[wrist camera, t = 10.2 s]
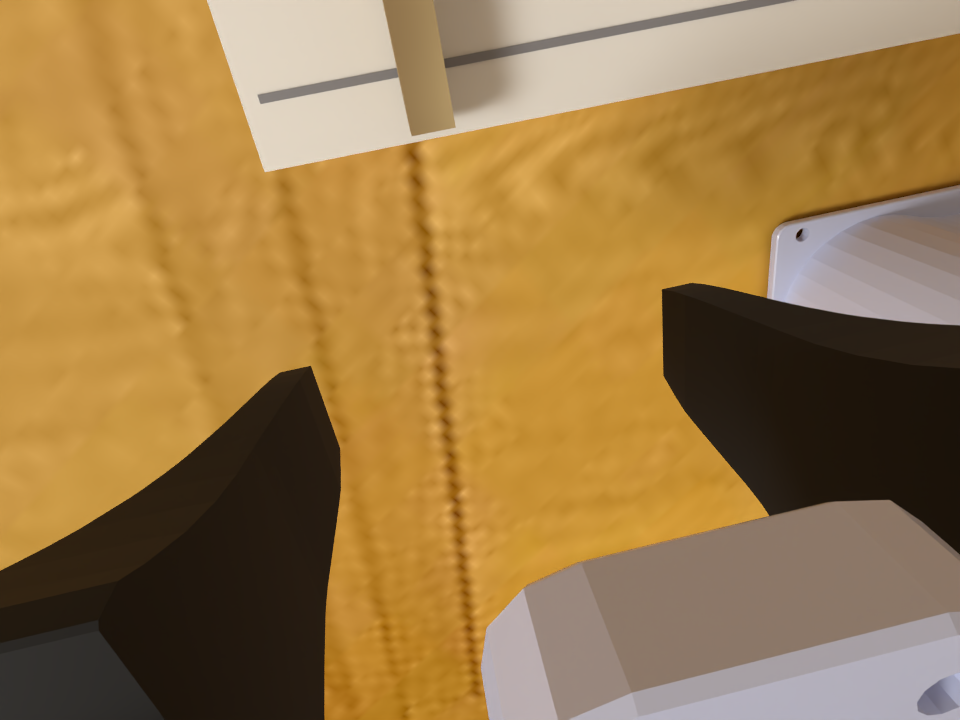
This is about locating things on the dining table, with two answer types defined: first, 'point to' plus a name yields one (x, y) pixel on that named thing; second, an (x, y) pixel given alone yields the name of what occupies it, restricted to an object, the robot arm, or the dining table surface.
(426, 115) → the chocolate popsicle
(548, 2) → the board
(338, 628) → the dining table surface
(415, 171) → the dining table surface
